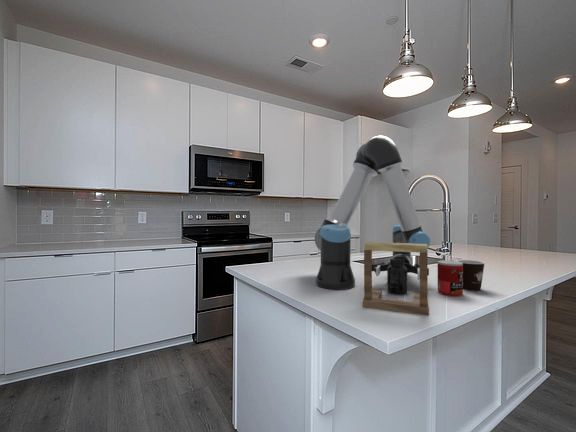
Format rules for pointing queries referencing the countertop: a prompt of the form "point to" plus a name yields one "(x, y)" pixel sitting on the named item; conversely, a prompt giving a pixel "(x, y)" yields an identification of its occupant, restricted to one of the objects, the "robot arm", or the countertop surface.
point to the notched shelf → (374, 295)
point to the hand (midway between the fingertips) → (397, 273)
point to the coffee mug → (472, 274)
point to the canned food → (450, 278)
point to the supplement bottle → (397, 277)
